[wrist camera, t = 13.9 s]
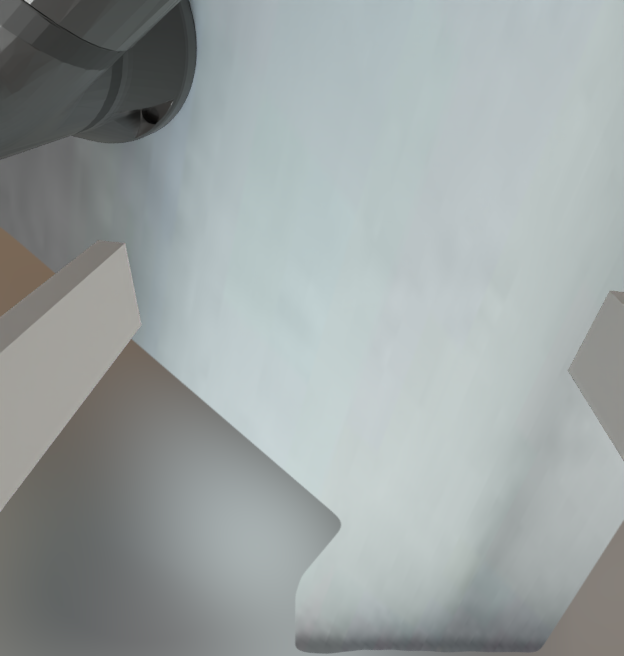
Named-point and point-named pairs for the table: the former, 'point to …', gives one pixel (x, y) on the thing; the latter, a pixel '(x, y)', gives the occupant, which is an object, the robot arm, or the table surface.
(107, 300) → the robot arm
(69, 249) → the table surface
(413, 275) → the table surface
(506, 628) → the table surface
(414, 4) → the table surface
